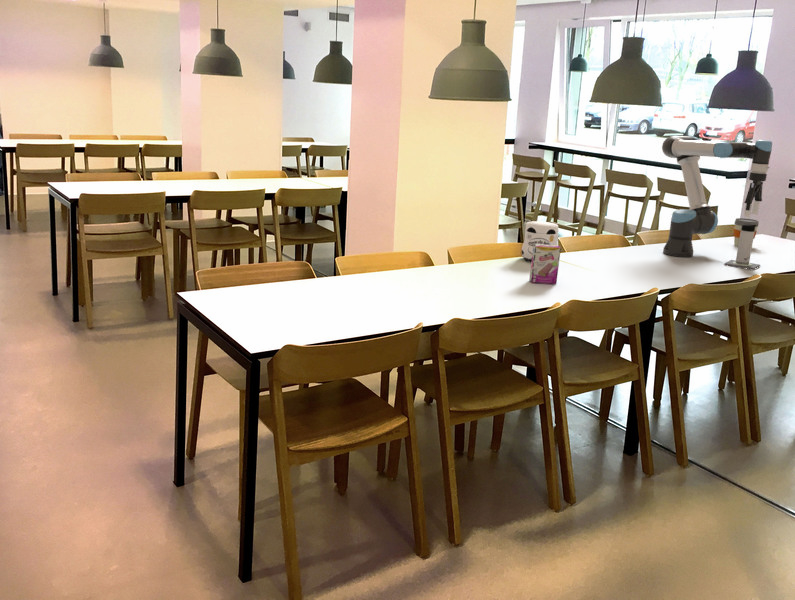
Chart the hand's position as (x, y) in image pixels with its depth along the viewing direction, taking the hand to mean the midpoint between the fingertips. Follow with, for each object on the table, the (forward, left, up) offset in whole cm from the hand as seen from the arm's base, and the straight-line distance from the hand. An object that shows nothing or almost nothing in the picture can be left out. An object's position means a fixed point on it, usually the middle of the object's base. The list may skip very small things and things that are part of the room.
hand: (750, 215), depth 380 cm
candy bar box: (-51, -114, -26) cm, 127 cm away
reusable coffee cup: (-16, +59, -26) cm, 66 cm away
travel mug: (0, 0, -25) cm, 25 cm away
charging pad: (0, 0, -26) cm, 26 cm away
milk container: (-74, -76, -26) cm, 109 cm away
